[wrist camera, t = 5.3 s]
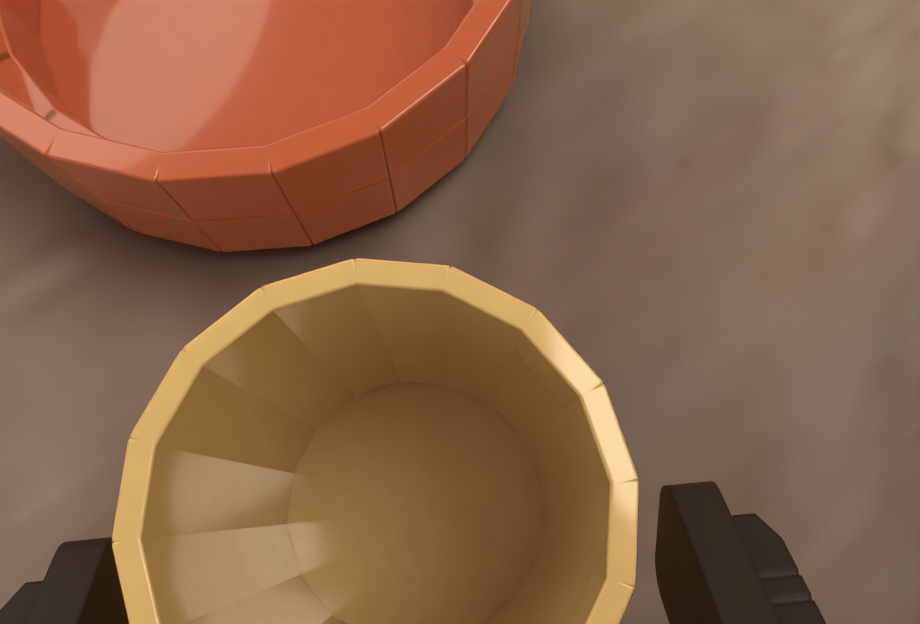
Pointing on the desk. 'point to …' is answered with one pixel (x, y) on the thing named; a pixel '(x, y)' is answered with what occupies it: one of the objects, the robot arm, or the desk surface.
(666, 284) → the desk surface
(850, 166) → the desk surface
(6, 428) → the desk surface
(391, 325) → the cup
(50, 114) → the bowl
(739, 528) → the robot arm
